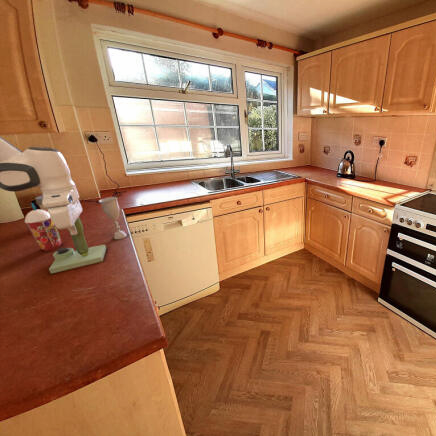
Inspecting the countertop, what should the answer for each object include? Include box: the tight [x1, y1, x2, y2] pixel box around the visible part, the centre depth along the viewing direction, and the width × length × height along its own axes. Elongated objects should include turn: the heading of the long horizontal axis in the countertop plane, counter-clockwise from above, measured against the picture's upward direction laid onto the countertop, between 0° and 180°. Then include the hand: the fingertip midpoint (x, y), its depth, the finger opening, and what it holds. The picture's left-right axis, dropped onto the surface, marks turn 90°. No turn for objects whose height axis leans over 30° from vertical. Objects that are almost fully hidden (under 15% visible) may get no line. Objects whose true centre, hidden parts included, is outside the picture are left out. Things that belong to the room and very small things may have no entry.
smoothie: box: [24, 202, 63, 252], centre depth 101 cm, size 8×8×20 cm
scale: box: [48, 243, 107, 274], centre depth 93 cm, size 15×12×4 cm
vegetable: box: [67, 217, 89, 257], centre depth 89 cm, size 4×4×20 cm
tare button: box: [56, 246, 69, 254], centre depth 93 cm, size 3×3×2 cm
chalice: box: [98, 196, 127, 240], centre depth 109 cm, size 7×7×18 cm
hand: (76, 231), depth 89 cm, fingers closed on vegetable, 4 cm apart
